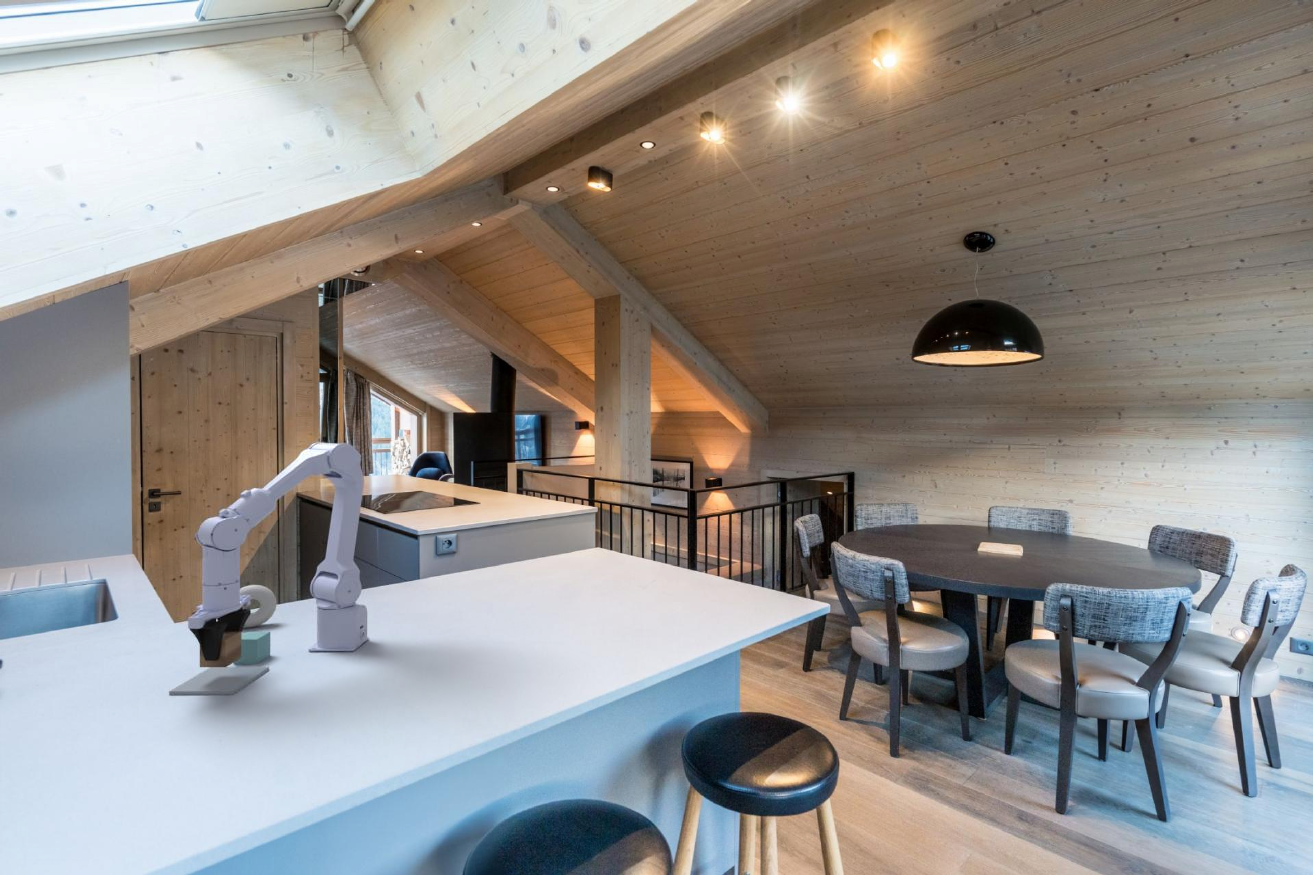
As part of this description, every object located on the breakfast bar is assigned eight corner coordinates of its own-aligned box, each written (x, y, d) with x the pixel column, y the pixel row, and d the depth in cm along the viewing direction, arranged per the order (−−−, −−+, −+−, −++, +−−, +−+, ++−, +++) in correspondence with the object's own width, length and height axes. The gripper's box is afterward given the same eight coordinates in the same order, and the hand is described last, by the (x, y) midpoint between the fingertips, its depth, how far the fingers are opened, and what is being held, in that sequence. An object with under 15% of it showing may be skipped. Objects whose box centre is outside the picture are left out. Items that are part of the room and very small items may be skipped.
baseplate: (269, 669, 121) (269, 666, 121) (232, 694, 110) (232, 691, 110) (211, 669, 121) (211, 666, 121) (169, 694, 110) (169, 691, 110)
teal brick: (270, 655, 129) (270, 631, 129) (256, 664, 125) (256, 639, 124) (247, 655, 129) (247, 631, 129) (233, 664, 124) (233, 639, 124)
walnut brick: (241, 657, 118) (241, 631, 118) (225, 667, 113) (225, 639, 113) (216, 657, 118) (216, 631, 118) (199, 667, 113) (199, 639, 113)
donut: (225, 632, 142) (225, 589, 142) (226, 628, 145) (226, 585, 145) (276, 625, 147) (276, 584, 147) (276, 621, 150) (276, 580, 150)
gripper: (224, 572, 122) (224, 641, 123) (170, 592, 108) (170, 670, 108) (261, 572, 123) (261, 641, 123) (211, 592, 108) (211, 670, 108)
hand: (221, 654), depth 116 cm, fingers closed on walnut brick, 5 cm apart
